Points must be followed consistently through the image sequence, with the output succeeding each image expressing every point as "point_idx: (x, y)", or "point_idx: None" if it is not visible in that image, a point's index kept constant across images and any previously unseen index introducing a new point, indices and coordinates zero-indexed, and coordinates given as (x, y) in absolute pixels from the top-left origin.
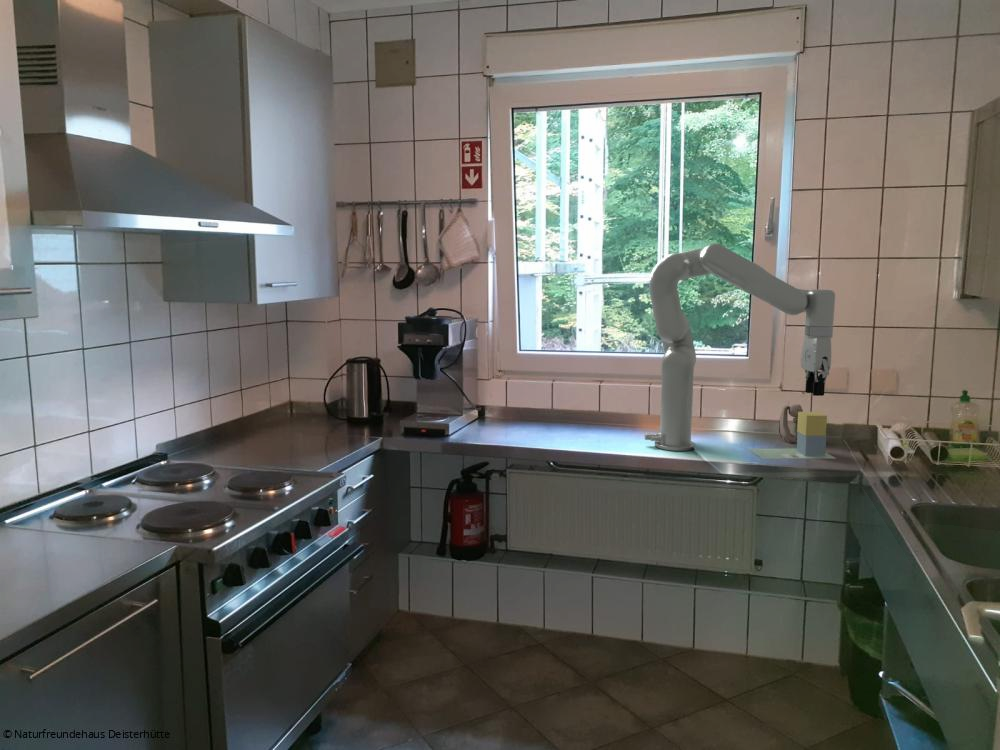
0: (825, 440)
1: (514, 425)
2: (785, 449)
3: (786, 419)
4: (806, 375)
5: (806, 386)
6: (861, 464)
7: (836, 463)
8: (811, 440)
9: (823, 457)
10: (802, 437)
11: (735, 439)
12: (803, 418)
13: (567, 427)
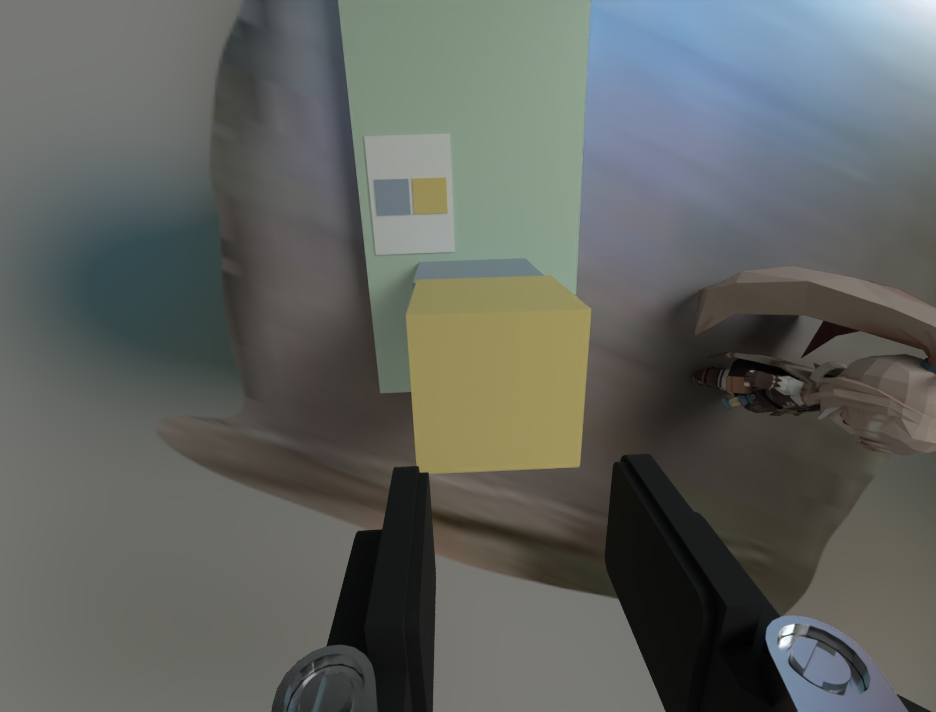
0: None
1: None
2: (560, 209)
3: (843, 318)
4: (856, 698)
5: (658, 507)
6: (357, 469)
7: (365, 379)
8: None
9: (392, 341)
10: (468, 277)
11: (920, 22)
12: (471, 304)
13: None
